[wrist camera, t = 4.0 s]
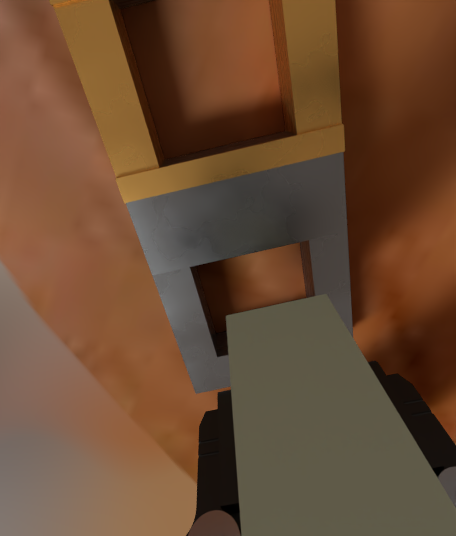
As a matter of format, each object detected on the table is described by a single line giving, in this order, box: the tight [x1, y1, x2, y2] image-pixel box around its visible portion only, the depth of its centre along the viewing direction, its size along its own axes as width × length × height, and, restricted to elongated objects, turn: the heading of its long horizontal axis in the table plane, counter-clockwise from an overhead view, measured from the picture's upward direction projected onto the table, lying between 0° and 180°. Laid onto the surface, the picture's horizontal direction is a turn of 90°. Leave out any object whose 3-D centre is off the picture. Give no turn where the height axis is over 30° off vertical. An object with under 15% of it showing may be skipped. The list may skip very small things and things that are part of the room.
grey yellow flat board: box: [49, 0, 353, 394], centre depth 15 cm, size 9×20×2 cm, turn 12°
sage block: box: [226, 294, 456, 536], centre depth 10 cm, size 4×4×9 cm
